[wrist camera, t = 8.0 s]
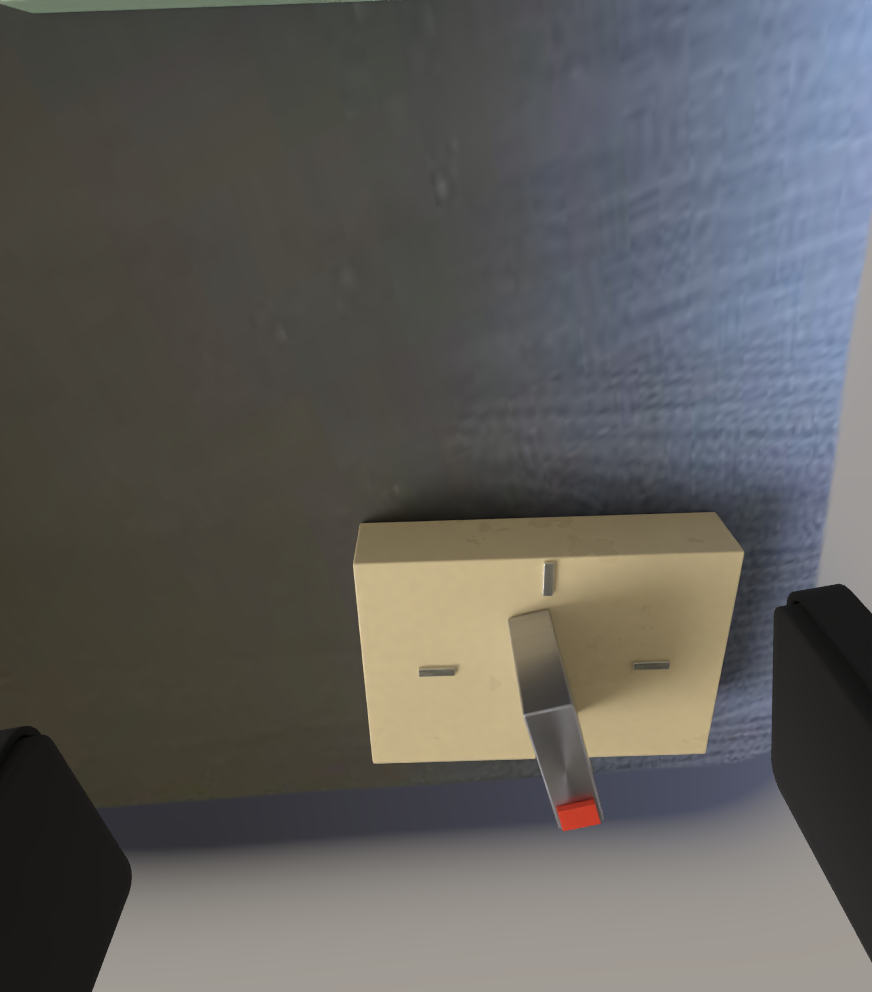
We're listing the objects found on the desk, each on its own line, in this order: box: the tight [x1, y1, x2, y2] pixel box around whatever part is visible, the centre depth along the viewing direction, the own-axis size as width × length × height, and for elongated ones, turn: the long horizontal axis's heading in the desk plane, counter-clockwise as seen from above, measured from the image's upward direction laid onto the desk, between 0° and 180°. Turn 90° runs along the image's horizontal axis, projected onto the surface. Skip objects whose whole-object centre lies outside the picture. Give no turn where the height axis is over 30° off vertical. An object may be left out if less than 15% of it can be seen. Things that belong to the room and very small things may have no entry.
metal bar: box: [508, 609, 604, 831], centre depth 25 cm, size 6×2×5 cm, turn 16°
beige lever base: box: [353, 512, 744, 763], centre depth 29 cm, size 14×10×3 cm
